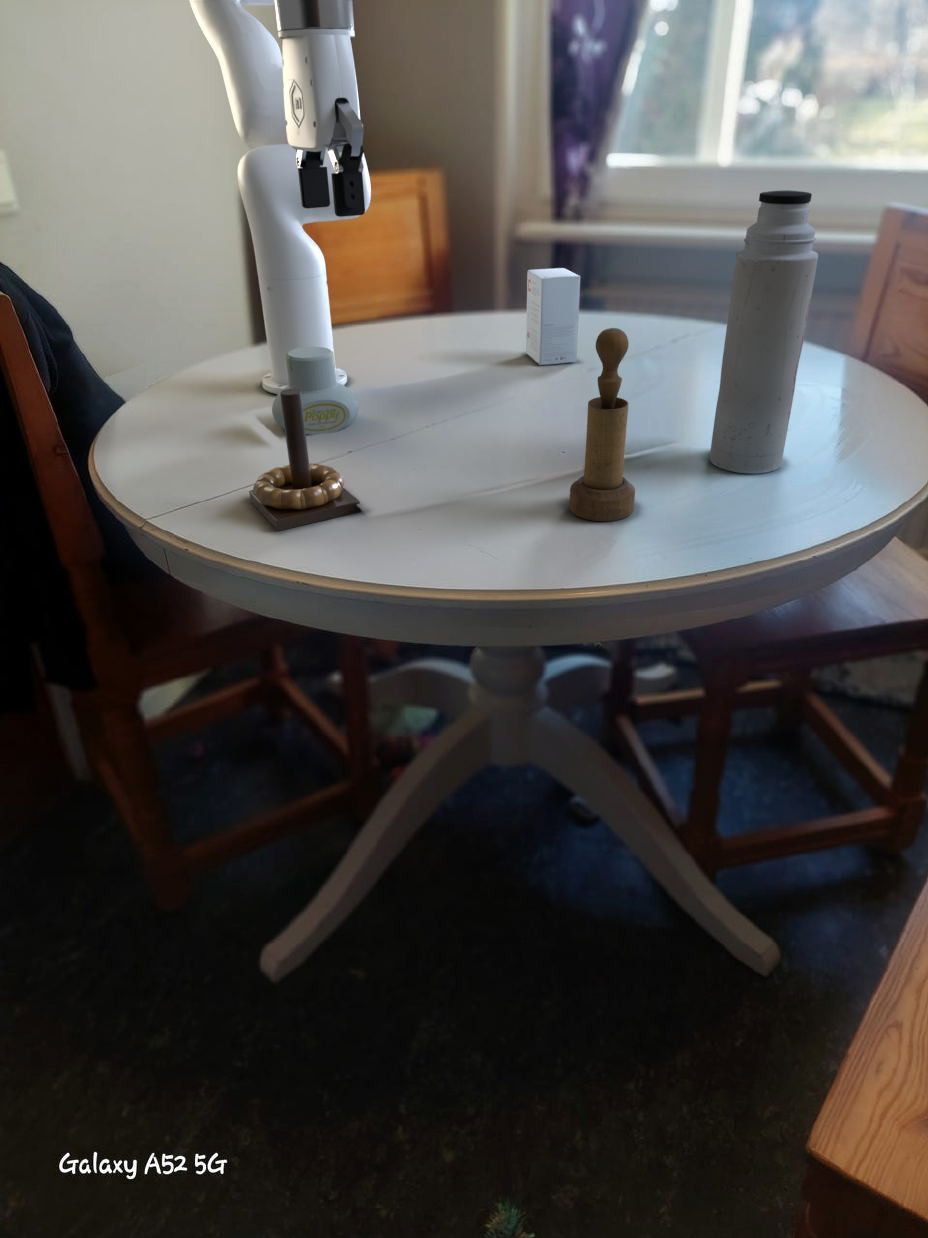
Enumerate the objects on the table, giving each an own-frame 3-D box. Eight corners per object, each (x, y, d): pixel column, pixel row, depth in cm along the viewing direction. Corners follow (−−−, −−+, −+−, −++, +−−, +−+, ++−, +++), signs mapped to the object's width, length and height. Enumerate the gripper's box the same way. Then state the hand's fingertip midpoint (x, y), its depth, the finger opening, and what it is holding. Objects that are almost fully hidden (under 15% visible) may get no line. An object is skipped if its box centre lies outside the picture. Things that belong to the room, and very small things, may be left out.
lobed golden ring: (244, 489, 93) (241, 471, 92) (325, 472, 97) (323, 454, 96) (271, 520, 86) (269, 501, 85) (357, 500, 90) (356, 482, 89)
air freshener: (352, 416, 117) (346, 340, 112) (366, 435, 111) (360, 355, 105) (271, 426, 114) (260, 348, 109) (280, 446, 108) (269, 365, 103)
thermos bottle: (777, 450, 103) (823, 187, 88) (784, 475, 96) (835, 195, 82) (708, 447, 104) (742, 187, 90) (710, 471, 98) (747, 195, 83)
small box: (577, 362, 138) (581, 275, 131) (539, 365, 137) (541, 278, 130) (561, 350, 145) (564, 266, 138) (524, 353, 143) (526, 269, 137)
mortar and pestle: (592, 527, 86) (603, 340, 77) (556, 504, 91) (563, 326, 82) (646, 512, 88) (663, 331, 79) (609, 491, 93) (621, 318, 84)
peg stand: (250, 500, 93) (232, 387, 87) (328, 483, 97) (316, 374, 91) (277, 531, 87) (260, 411, 80) (360, 511, 90) (350, 395, 84)
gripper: (251, 25, 91) (273, 206, 99) (310, 12, 78) (330, 222, 86) (319, 26, 94) (334, 202, 102) (387, 13, 81) (398, 215, 89)
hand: (332, 211), depth 94 cm, fingers open, 9 cm apart
